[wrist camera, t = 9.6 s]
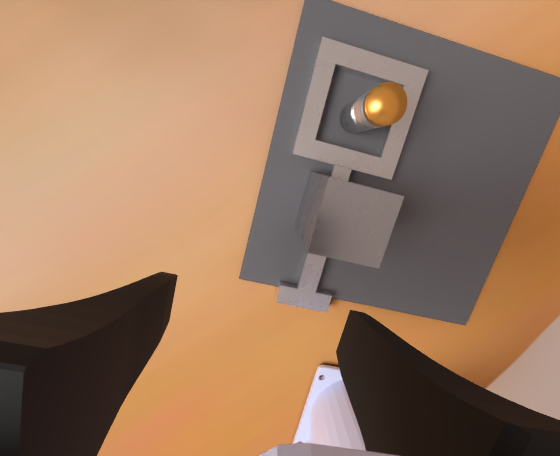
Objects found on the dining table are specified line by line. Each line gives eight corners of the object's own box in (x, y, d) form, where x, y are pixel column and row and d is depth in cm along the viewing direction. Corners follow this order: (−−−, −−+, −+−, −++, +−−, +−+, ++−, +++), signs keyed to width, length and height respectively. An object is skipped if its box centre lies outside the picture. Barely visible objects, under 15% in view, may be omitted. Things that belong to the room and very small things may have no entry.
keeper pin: (363, 136, 19) (399, 130, 14) (335, 129, 19) (362, 119, 14) (373, 106, 19) (413, 88, 14) (344, 97, 19) (375, 76, 14)
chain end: (342, 310, 23) (370, 364, 17) (256, 293, 22) (253, 343, 16) (421, 73, 19) (493, 36, 13) (319, 41, 18) (348, -14, 12)
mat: (462, 323, 24) (465, 325, 24) (239, 277, 22) (239, 278, 21) (569, 83, 20) (574, 82, 19) (305, -5, 17) (306, -8, 17)
